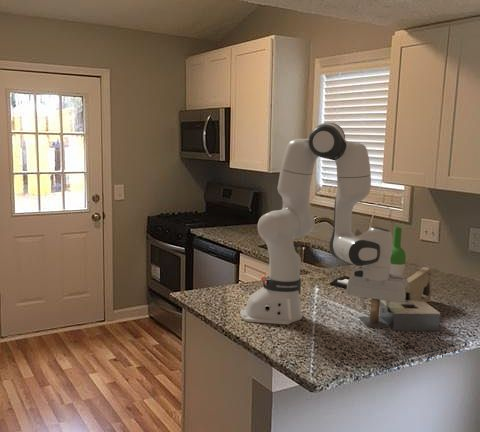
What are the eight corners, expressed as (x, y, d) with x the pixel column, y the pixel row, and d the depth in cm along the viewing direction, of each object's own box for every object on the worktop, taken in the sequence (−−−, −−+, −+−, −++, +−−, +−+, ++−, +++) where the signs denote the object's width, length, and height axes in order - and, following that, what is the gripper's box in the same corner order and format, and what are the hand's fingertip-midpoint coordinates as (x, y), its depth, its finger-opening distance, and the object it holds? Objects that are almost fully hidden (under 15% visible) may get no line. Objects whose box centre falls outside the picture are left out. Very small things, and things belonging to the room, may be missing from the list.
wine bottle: (380, 300, 212) (386, 227, 208) (384, 295, 219) (389, 225, 215) (400, 303, 209) (406, 229, 205) (403, 298, 216) (409, 226, 212)
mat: (367, 327, 180) (367, 326, 180) (358, 317, 190) (359, 316, 190) (390, 327, 181) (390, 326, 181) (380, 317, 191) (380, 316, 191)
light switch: (326, 280, 233) (343, 273, 243) (326, 287, 234) (343, 279, 244) (366, 290, 220) (382, 281, 230) (366, 297, 221) (382, 288, 230)
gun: (424, 299, 216) (426, 264, 213) (432, 300, 214) (434, 265, 211) (400, 318, 198) (402, 280, 194) (408, 320, 196) (410, 282, 192)
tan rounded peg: (373, 323, 183) (375, 301, 182) (367, 320, 186) (369, 298, 185) (380, 322, 185) (381, 300, 184) (374, 319, 187) (376, 297, 186)
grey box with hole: (393, 330, 178) (394, 312, 177) (379, 316, 192) (380, 300, 191) (438, 330, 179) (440, 312, 178) (421, 317, 193) (423, 300, 192)
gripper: (408, 274, 182) (405, 312, 184) (350, 267, 189) (347, 304, 191) (407, 278, 176) (404, 318, 178) (346, 271, 184) (344, 308, 186)
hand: (374, 310), depth 185 cm, fingers open, 5 cm apart
